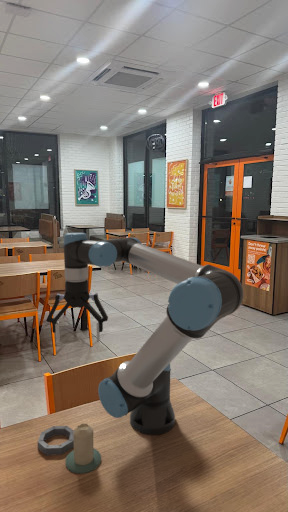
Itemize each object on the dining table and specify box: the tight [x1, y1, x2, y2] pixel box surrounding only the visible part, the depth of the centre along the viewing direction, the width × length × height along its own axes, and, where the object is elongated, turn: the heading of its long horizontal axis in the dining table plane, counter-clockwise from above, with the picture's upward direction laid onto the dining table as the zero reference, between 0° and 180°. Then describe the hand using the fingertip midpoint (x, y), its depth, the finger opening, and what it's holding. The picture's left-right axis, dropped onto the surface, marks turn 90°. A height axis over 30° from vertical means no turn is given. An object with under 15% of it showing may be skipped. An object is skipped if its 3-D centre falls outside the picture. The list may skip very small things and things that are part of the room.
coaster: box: [65, 447, 102, 475], centre depth 102 cm, size 10×10×1 cm
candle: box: [73, 423, 95, 465], centre depth 101 cm, size 6×6×10 cm
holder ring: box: [37, 425, 75, 456], centre depth 109 cm, size 11×11×2 cm
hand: (78, 341), depth 121 cm, fingers open, 13 cm apart
